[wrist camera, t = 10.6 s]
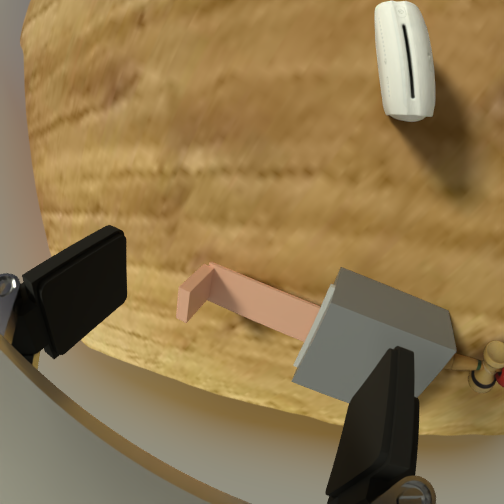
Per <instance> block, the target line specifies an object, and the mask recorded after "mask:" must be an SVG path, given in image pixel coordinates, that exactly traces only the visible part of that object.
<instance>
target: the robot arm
mask: <svg viewBox="0 0 504 504" xmlns="http://www.w3.org/2000/svg"><path fill="white" fill-rule="evenodd" d="M22 277H23V281H24V282H23V283H22V284H20V281H19V279H18V277H17V276H15V275H13V274H8V273H6V274H0V504H250V503H248V502H246V501H243V500H241V499H238V498H236V497H233V496H231V495H229V494H227V493H224V492H222V491H219V490H218V489H215V488H213V487H211V486H209V485H207V484H204V483H203V482H201V481H198V480H196V479H194V478H192V477H190V476H189V475H187V474H185V473H183V472H181V471H179V470H177V469H175V468H173V467H172V466H170V465H168V464H166V463H164V462H163V461H161V460H159V459H157V458H156V457H154V456H152V455H151V454H149V453H147V452H146V451H144V450H142V449H141V448H139V447H137V446H136V445H134V444H133V443H131V442H130V441H128V440H127V439H125V438H124V437H122V436H121V435H119V434H118V433H116V432H115V431H113V430H112V429H110V428H109V427H107V426H106V425H105V424H103V423H102V422H100V421H99V420H98V419H96V418H95V417H93V416H92V415H90V413H88V412H87V411H86V410H84V409H83V408H82V407H80V406H79V405H78V404H77V403H75V402H74V401H73V400H72V399H70V398H69V397H68V396H67V395H65V394H64V393H63V392H62V391H61V390H59V389H58V388H57V387H56V386H55V385H53V383H51V382H50V381H49V380H48V379H47V378H46V377H45V376H44V375H42V374H41V373H40V372H39V371H38V370H37V369H38V362H39V356H40V351H41V350H42V349H43V348H44V350H45V352H46V353H47V354H48V355H50V356H51V357H52V358H53V359H55V358H56V357H58V356H59V355H63V354H65V353H66V352H67V351H68V350H69V349H71V348H72V347H73V346H74V345H75V344H76V343H77V342H78V341H80V340H81V339H82V338H83V337H84V336H86V335H87V334H88V333H89V332H90V331H91V330H92V329H94V328H95V327H96V326H97V325H98V324H99V323H101V322H102V321H103V320H104V319H105V318H106V317H108V316H109V315H110V314H111V313H112V312H114V311H115V310H116V309H117V308H118V307H119V306H121V305H122V304H123V303H124V302H125V300H126V298H127V273H126V237H125V236H124V232H123V231H122V230H120V229H118V228H116V227H113V226H111V225H108V226H105V227H103V228H102V229H100V230H98V231H96V232H94V233H92V234H91V235H89V236H87V237H85V238H84V239H82V240H80V241H78V242H76V243H75V244H73V245H71V246H70V247H68V248H66V249H64V250H63V251H61V252H59V253H58V254H56V255H54V256H53V257H51V258H49V259H48V260H46V261H44V262H43V263H41V264H39V265H38V266H36V267H35V268H33V269H31V270H30V271H28V272H26V273H25V274H23V275H22ZM414 386H415V371H414V352H413V351H411V350H408V349H405V348H403V347H400V346H396V347H395V348H394V349H391V348H389V349H388V350H387V351H386V353H385V354H384V356H383V357H382V358H381V360H380V361H379V363H378V364H377V365H376V367H375V368H374V370H373V371H372V372H371V374H370V375H369V376H368V378H367V379H366V380H365V382H364V383H363V384H362V386H361V387H360V388H359V390H358V391H357V392H356V393H355V395H354V396H353V397H352V399H351V401H350V403H349V406H348V410H347V414H346V418H345V423H344V427H343V431H342V435H341V439H340V443H339V447H338V450H337V454H336V458H335V461H334V465H333V468H332V472H331V475H330V478H329V482H328V485H327V488H326V495H329V499H328V502H327V504H436V494H435V491H434V488H433V487H432V485H431V484H430V483H429V482H428V481H427V480H426V479H424V478H422V477H420V476H415V471H416V461H417V449H418V433H419V400H418V398H416V397H414Z"/></svg>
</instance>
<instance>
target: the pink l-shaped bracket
mask: <svg viewBox="0 0 504 504" xmlns="http://www.w3.org/2000/svg"><path fill="white" fill-rule="evenodd" d="M206 300H208V301H211V302H213V303H215V304H217V305H219V306H222V307H224V308H226V309H228V310H230V311H233V312H235V313H237V314H239V315H242V316H244V317H246V318H249V319H251V320H253V321H255V322H258V323H260V324H262V325H265V326H267V327H270V328H272V329H274V330H277V331H279V332H281V333H284V334H286V335H289V336H291V337H294V338H296V339H298V340H301V341H303V342H305V340H306V338H307V336H308V334H309V331H310V329H311V327H312V325H313V323H314V321H315V318H316V316H317V314H318V312H319V310H320V306H318V305H315V304H313V303H310V302H308V301H305V300H303V299H301V298H298V297H296V296H293V295H291V294H288V293H286V292H283V291H281V290H278V289H276V288H273V287H271V286H269V285H266V284H264V283H261V282H259V281H256V280H254V279H252V278H249V277H247V276H244V275H242V274H240V273H237V272H235V271H232V270H230V269H228V268H225V267H223V266H221V265H218V264H216V263H214V262H210V263H209V266H208V265H205V264H203V265H202V266H201V267H200V268H199V269H198V270H197V271H196V272H194V273H193V274H192V275H191V276H190V277H189V278H188V279H187V280H186V281H185V282H184V283H183V284H182V285H181V286H179V291H178V302H177V314H176V318H177V319H179V320H181V321H183V322H185V323H187V322H188V321H189V320H190V318H191V317H192V316H193V315H194V314H195V313H196V312H197V311H198V309H199V308H200V307H201V306H202V305H203V304H204V303H205V302H206Z"/></svg>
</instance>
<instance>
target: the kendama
mask: <svg viewBox="0 0 504 504" xmlns="http://www.w3.org/2000/svg"><path fill="white" fill-rule="evenodd" d="M483 356H484V360H483V361H480V360H477V359H474V358H471V357H468V356H464V355H461V354H456V353H455V354H454V355H453V356H452V358H451V359H450V360H449V361H448V363H447V364H446V365H445V366H444V369H452V370H471V372H470V373H469V376H468V382H469V385H470V387H471V388H472V389H473V390H474V391H476V392H478V393H486V392H488V391H490V390H491V388H492V387H493V386H494V384H495V382H496V380H497V382H498V383H499V384H500V385H501V386H502V387H504V343H502V342H500V341H491V342H489V343H488V344H487V346H486V347H485V349H484V352H483Z"/></svg>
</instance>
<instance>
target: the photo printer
mask: <svg viewBox="0 0 504 504" xmlns="http://www.w3.org/2000/svg"><path fill="white" fill-rule="evenodd" d="M375 41H376V52H377V61H378V70H379V79H380V86H381V94H382V101H383V107H384V111H385V114H386V115H390V116H392V117H393V118H395V119H398V120H402V121H408V122H416V121H420V120H422V119H424V118H425V117H432V116H433V112H434V107H435V75H434V64H433V56H432V50H431V44H430V39H429V35H428V31H427V27H426V25H425V21H424V19H423V16H422V14H421V12H420V10H419V8H418V7H417V6H416V5H415V4H413V3H410V2H407V1H402V2H395V1H387V2H383V3H381V4H379V5H377V6H376V8H375Z"/></svg>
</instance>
